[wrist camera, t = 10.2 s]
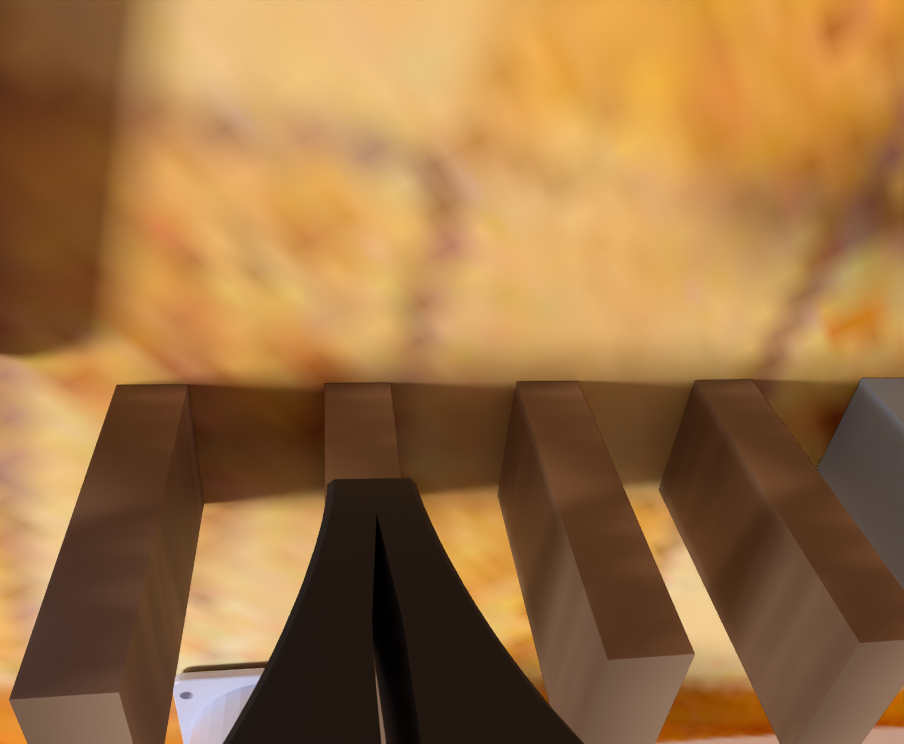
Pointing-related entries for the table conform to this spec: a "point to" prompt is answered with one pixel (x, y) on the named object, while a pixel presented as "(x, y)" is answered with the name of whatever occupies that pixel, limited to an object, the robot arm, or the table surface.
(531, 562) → the domino
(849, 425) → the domino
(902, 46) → the table surface
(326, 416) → the domino
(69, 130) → the table surface
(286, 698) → the robot arm
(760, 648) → the domino
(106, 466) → the domino
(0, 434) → the table surface
